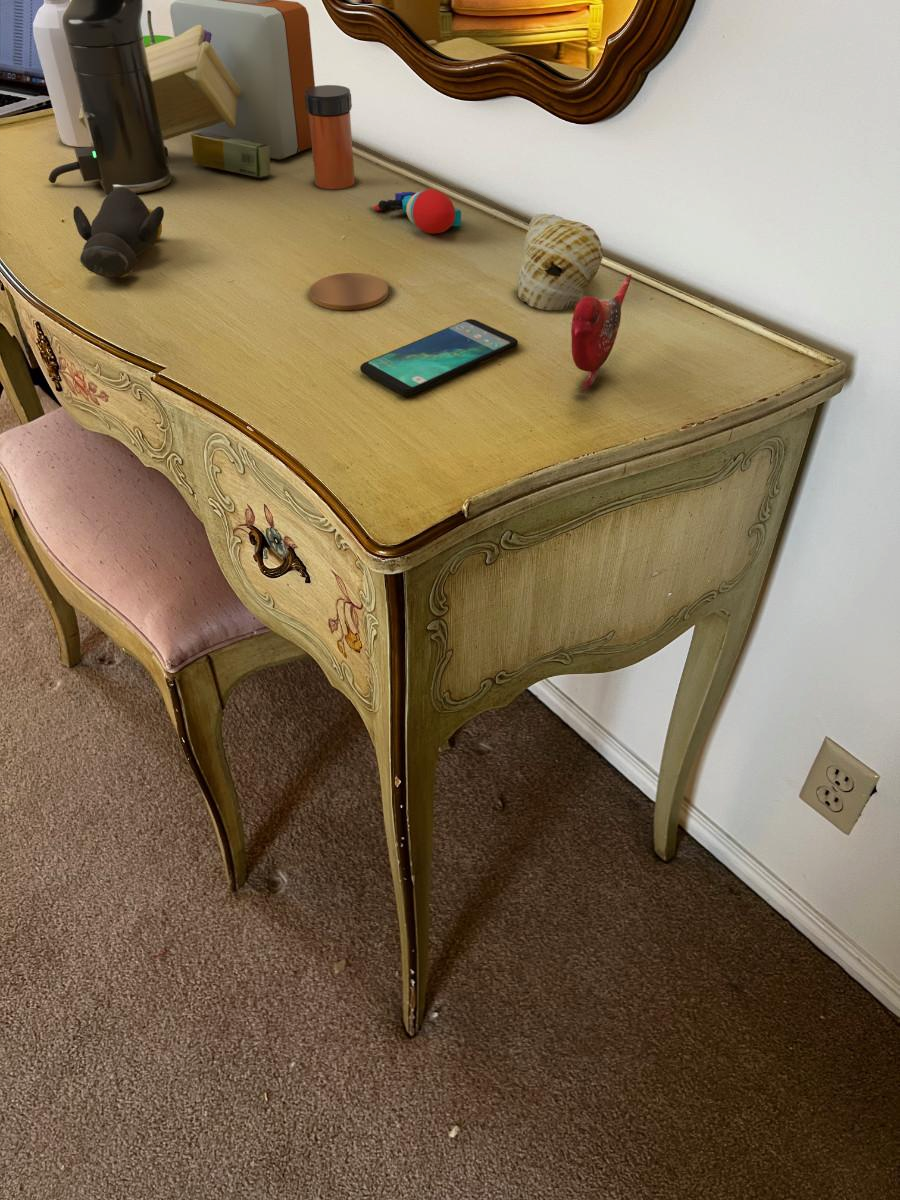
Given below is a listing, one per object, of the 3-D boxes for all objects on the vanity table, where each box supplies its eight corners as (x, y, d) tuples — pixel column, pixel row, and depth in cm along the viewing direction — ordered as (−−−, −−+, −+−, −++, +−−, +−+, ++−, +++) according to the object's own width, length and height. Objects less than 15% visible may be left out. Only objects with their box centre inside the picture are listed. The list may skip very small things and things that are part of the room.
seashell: (551, 315, 95) (527, 213, 91) (507, 322, 103) (484, 230, 100) (631, 289, 98) (611, 190, 95) (582, 299, 106) (562, 208, 103)
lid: (314, 117, 118) (312, 98, 117) (301, 106, 122) (299, 87, 121) (357, 112, 120) (356, 93, 118) (342, 101, 124) (341, 83, 122)
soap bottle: (45, 143, 141) (-8, -46, 125) (92, 128, 147) (48, -55, 131) (84, 152, 137) (36, -41, 121) (131, 136, 143) (91, -50, 127)
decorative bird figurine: (551, 415, 82) (560, 306, 75) (609, 331, 94) (621, 231, 87) (583, 421, 81) (595, 313, 74) (637, 336, 93) (651, 236, 86)
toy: (100, 238, 112) (60, 289, 101) (84, 176, 108) (41, 223, 96) (183, 238, 112) (153, 290, 101) (172, 176, 108) (138, 224, 96)
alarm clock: (322, 147, 138) (308, -16, 125) (284, 162, 133) (265, -6, 119) (230, 128, 146) (207, -28, 132) (190, 142, 140) (162, -19, 127)
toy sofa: (240, 127, 128) (245, 71, 131) (205, 76, 120) (210, 18, 124) (114, 167, 134) (121, 113, 138) (73, 121, 126) (81, 65, 130)
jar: (322, 191, 125) (314, 101, 117) (310, 179, 128) (301, 91, 121) (360, 186, 126) (354, 96, 119) (347, 174, 130) (340, 87, 122)
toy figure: (369, 223, 120) (421, 241, 109) (367, 181, 117) (420, 195, 106) (421, 218, 123) (477, 235, 112) (420, 177, 120) (477, 190, 109)
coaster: (324, 316, 96) (324, 310, 96) (301, 285, 102) (300, 280, 102) (399, 302, 99) (399, 296, 98) (372, 272, 104) (372, 267, 104)
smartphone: (521, 339, 90) (405, 392, 83) (521, 347, 91) (406, 400, 83) (470, 316, 94) (355, 364, 87) (470, 323, 95) (356, 372, 87)
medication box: (272, 175, 129) (271, 144, 127) (260, 179, 127) (258, 147, 125) (204, 160, 133) (201, 130, 131) (191, 163, 131) (188, 132, 129)
